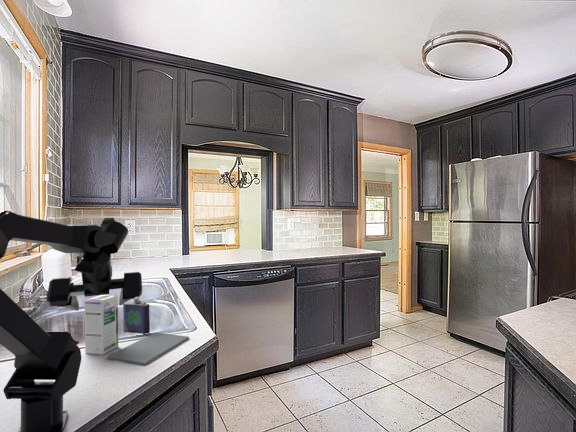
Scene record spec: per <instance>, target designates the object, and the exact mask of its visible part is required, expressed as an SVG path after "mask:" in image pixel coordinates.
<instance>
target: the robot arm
mask: <svg viewBox="0 0 576 432" xmlns="http://www.w3.org/2000/svg"><path fill="white" fill-rule="evenodd" d="M128 234H129V229H128V227H127V226H125V225H124V224H123V223H121V222H119V221H116V220H115V219H114V217H104V219H103V220H102V222H101V224H100V225H98V224H64V223H63V224H62V223H59V222H54V221H49V220H45V219H39V218H36V217H35V218H34V217H31V216H28V215H27V216H26V215H22V214H17V213H15V212H13V211H11V210H0V260H2V258H3V257H4V256H5V255H6V253H7V249H8V246H9V242H10V241H14V242H15V241H16V242H23V243H29V244H30V243H31V244H39V245H46V246H49V247H51V248H52V249H53V250H54V251H58V252H61V253H64V254H76V265H75V268H74V271H75V272H78V273H80V275H81V279H82V280H81V281H82V284H75V283H74V282H72V279H73V278H72V276H68V277H67V276H66V277H54V278H52V279H51V280H50V281H49V283H48V288H47V289H48V291H47V295H46V301H47V305H48V306H49V307H57V308H61V307H62V308H67V309H69V310H73V311H76V312H78V311H79V309H80V304H79V300H78V298H77V297H78V296H84V297H97V296H99V295H110V291H111V290H119V289H120V293H119V297H118V299H119V300H118V307H119V306H123V304H124V303H128V302H129V301H130V300H133V299H136V298H139V297H140V298H141V296H142V295H143V282H142V277H143V276H142V273H141V272H139V271H131V272H124V273H123V278H113V265H112V257H111V255H112V254H117V253H118V252H119V250H120V249H121V246H122V244H123V243H124V242H125V239H126V238H127V236H128ZM79 343H80V341H78V340H75V339H74V338H73V336H72V334H71V333H69V332H68V331H64V330H63V331H61V330H59V331H56V330H55V331H54V330H52V331H51V330H50V331H49V330H44V329H43V327H42V326H40V325H39V323H37V321H35V320H34V319H33V318H32V317H31V316H30V315H29V314H28V313H27V312H26V311H24V309H22V307H20V306H19V304H18V303H16V302H15V301H14V300H13V299H12V298H11V297H10V296H9V295H8V294H7V293H6V292H5V291H4V290H3V288H1V287H0V345H1V346H2V347H4V348H5V349H6V350H7V351H9V352H10V353H11V354H13V355H14V362H13V367H14V368H15V370H14V372H13V373H12V375H11V377H10V378H9V380H8V382H7V383H6V385H5V386H4V388H3V390H2V391H3V394H4V396H5V399H7V400H12V399H15V400H16V399H17V400H18V399H19V400H20V427H19V429H18V432H64V428H65V426H66V422H67V419H68V416H69V411H68V410H64V395H66V394H67V393H68V392H69V391H71V390H72V389H74V387H76V385H77V381H78V376H79V372H80V367H81V364H82V350H81V348H80V347H79V346H78V344H79ZM35 380H37V381H35ZM38 380H39V381H38ZM41 380H43V381H41ZM53 380H54V381H53Z"/></svg>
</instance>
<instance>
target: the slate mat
mask: <svg viewBox="0 0 576 432" xmlns="http://www.w3.org/2000/svg"><path fill="white" fill-rule="evenodd" d="M189 339H190V336H185V335H180V334H179V335H178V334H170V333H164V332H153V333H152V334H149V335H147V336H146V337H143V338H142V339H139V340H138V341H135V342H133V343H132V344H130V345H129V344H128V345H127V346H125V347H123V348H121V349H119V350H117V351H115V352H113V353H111V354H108V355H107V356H106V360H110V361H116V362H120V363H121V362H123V363H128V364H133V365H139V366H146V365H149V363H151V362H153V361H154V360H157V359H158V358H161V356H163V355H164V354H167V353H168V352H169V351H171V350H173V349H174V348H177V347H178V346H179V345H181V344H183V343H185V342H186V341H188V340H189Z"/></svg>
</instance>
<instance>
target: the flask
mask: <svg viewBox="0 0 576 432" xmlns="http://www.w3.org/2000/svg"><path fill="white" fill-rule="evenodd" d="M139 299H141V296H140V297H135V298H134V299H132V300H133V301H134V302H129V301H128V302H125V303H124V304H122V308H123V310H122V313H123V315H122V316H123V317H122V321H123V322H122V331H123V332H124V333H130V334H139V335H140V334H142V335H146V334H149V333H151V331H150V329H151V328H150V326H151V325H150V324H151V323H150V303H146V302H145V301H143V302H142V300H139Z"/></svg>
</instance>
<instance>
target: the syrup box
mask: <svg viewBox="0 0 576 432" xmlns="http://www.w3.org/2000/svg"><path fill="white" fill-rule="evenodd" d="M118 299H119V296H118V295H116V294H106V295H97V296H92V298H87V299H84V350H85V351H84V353H85V354H91V355H101V356H102V355H104V354H106V353H108V352H110V351H112V350H114V349H116V348H118V347H119V300H118Z"/></svg>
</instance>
